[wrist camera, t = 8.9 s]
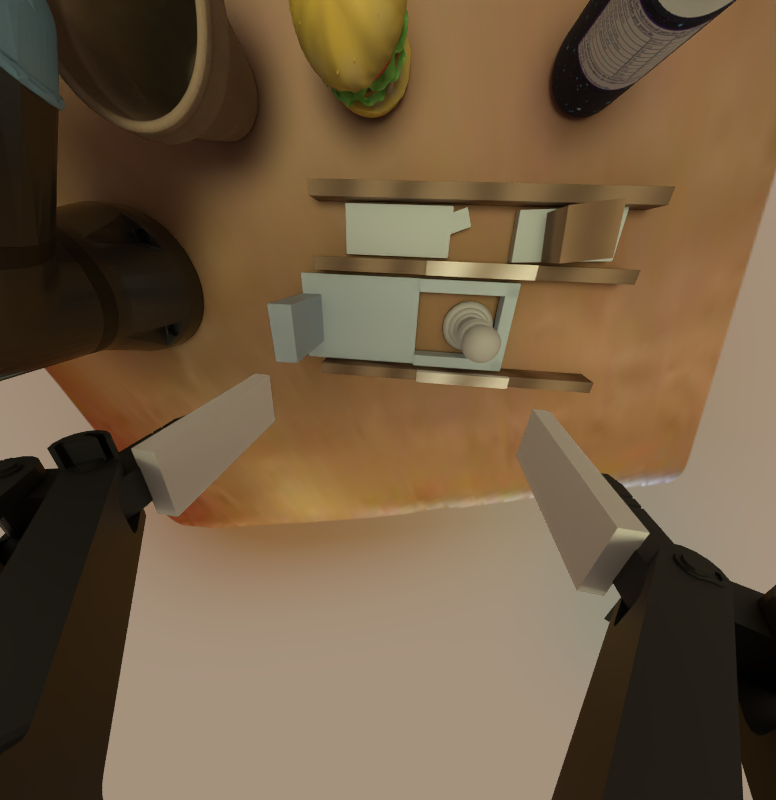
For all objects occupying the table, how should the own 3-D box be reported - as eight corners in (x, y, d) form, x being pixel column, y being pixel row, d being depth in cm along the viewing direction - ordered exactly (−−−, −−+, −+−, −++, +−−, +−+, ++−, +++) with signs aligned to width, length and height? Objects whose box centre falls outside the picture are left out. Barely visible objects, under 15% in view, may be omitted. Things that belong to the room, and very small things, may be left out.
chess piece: (501, 311, 30) (530, 330, 22) (476, 355, 32) (495, 387, 24) (455, 292, 29) (468, 305, 21) (434, 339, 32) (439, 366, 24)
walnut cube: (540, 262, 26) (559, 263, 23) (547, 212, 24) (568, 205, 21) (586, 258, 26) (612, 258, 22) (596, 206, 24) (627, 197, 20)
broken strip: (349, 255, 29) (346, 255, 28) (348, 201, 27) (345, 198, 26) (602, 266, 27) (609, 266, 26) (623, 208, 25) (632, 206, 24)
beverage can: (630, 98, 22) (834, -59, 11) (552, 136, 23) (666, 32, 12) (627, -4, 19) (879, -322, 9) (542, 46, 21) (668, -175, 10)
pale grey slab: (312, 352, 34) (279, 381, 26) (305, 272, 30) (262, 276, 22) (495, 365, 32) (520, 401, 24) (515, 282, 28) (552, 291, 20)
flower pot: (132, 0, 22) (-63, -175, 13) (266, -27, 21) (149, -243, 12) (188, 180, 27) (74, 142, 18) (297, 168, 26) (233, 120, 17)
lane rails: (328, 365, 35) (320, 374, 32) (317, 185, 26) (304, 176, 24) (577, 383, 32) (592, 395, 30) (651, 193, 24) (681, 184, 21)
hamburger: (420, 121, 23) (421, 7, 13) (341, 147, 25) (282, 64, 14) (404, -17, 20) (387, -322, 10) (313, 22, 22) (209, -209, 11)
